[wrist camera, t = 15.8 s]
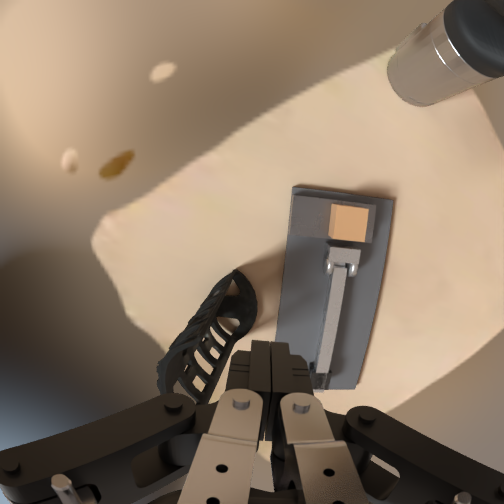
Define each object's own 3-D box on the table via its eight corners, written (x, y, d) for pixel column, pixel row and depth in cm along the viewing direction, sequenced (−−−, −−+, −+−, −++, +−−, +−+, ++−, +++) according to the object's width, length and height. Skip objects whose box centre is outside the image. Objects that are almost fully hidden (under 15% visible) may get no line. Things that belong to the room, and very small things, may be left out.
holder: (261, 340, 46) (238, 433, 26) (212, 341, 47) (164, 427, 28) (253, 267, 44) (219, 331, 24) (200, 271, 45) (135, 331, 26)
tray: (292, 187, 42) (293, 187, 41) (390, 199, 41) (393, 200, 40) (269, 383, 48) (269, 386, 47) (353, 386, 48) (355, 389, 47)
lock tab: (331, 203, 39) (336, 205, 36) (361, 207, 39) (368, 209, 36) (328, 234, 40) (333, 238, 37) (357, 238, 40) (364, 242, 37)
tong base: (292, 194, 41) (294, 195, 37) (372, 204, 41) (381, 206, 37) (270, 376, 46) (271, 389, 43) (340, 379, 46) (344, 391, 43)
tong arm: (327, 265, 41) (329, 267, 40) (349, 267, 41) (351, 269, 40) (307, 388, 44) (307, 392, 44) (326, 388, 44) (327, 392, 43)
